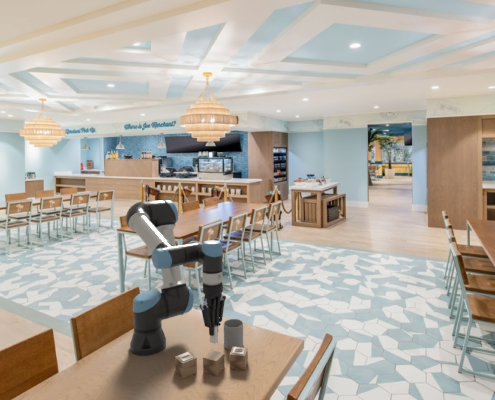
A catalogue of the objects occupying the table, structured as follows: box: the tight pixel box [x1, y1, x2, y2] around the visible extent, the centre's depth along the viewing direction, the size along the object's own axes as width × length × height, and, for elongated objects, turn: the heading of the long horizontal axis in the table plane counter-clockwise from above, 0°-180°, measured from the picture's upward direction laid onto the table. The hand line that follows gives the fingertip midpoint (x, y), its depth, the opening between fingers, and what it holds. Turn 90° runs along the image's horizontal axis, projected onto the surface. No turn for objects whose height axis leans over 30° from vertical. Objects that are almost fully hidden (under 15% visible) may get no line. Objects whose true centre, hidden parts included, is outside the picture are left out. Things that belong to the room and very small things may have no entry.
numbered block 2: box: [229, 346, 249, 371], centre depth 135 cm, size 6×6×6 cm
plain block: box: [202, 349, 226, 377], centre depth 132 cm, size 6×6×6 cm
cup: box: [223, 318, 244, 351], centre depth 150 cm, size 8×8×10 cm
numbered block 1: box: [174, 350, 198, 379], centre depth 131 cm, size 6×6×6 cm
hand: (213, 342), depth 131 cm, fingers closed
